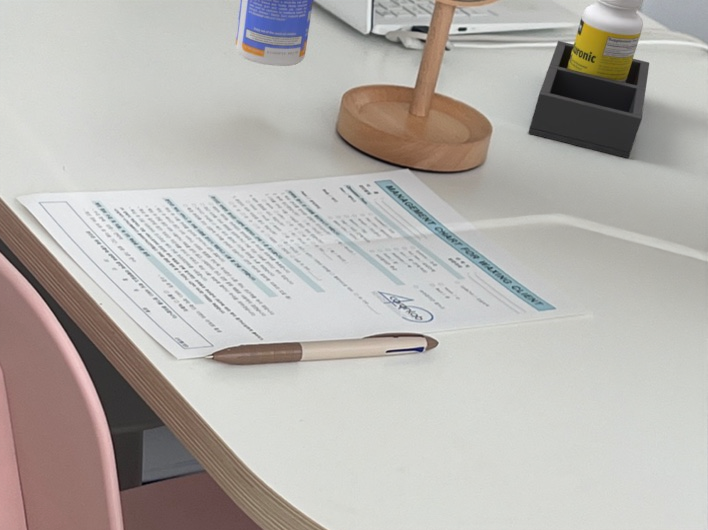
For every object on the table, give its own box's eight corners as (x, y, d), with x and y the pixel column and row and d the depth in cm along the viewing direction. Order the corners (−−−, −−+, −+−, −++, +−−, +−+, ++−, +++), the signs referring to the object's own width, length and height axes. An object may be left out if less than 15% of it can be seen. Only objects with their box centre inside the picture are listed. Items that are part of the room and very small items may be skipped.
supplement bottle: (552, 81, 121) (583, -27, 115) (605, 85, 122) (638, -21, 117) (574, 103, 117) (607, -7, 111) (629, 108, 118) (664, -1, 112)
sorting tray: (547, 76, 124) (558, 40, 122) (637, 98, 123) (649, 62, 121) (528, 133, 111) (539, 93, 109) (628, 158, 109) (641, 118, 107)
